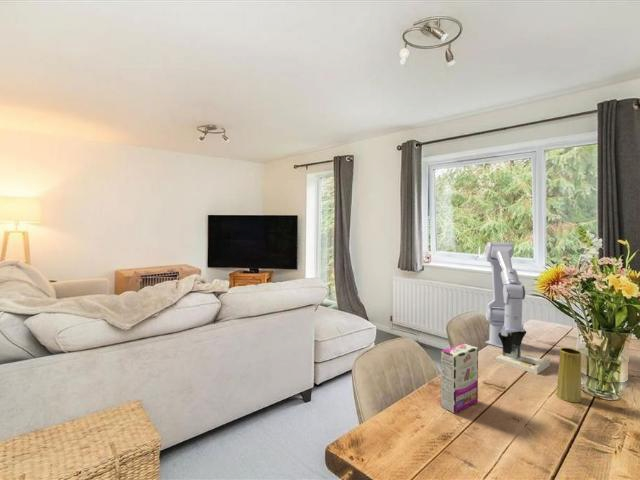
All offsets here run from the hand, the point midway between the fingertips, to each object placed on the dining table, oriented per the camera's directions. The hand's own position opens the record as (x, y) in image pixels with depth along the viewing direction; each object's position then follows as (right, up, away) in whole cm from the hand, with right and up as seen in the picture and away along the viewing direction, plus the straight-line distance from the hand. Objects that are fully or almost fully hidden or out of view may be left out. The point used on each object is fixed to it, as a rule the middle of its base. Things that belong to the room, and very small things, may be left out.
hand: (511, 350), depth 130 cm
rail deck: (+2, -4, -3) cm, 5 cm away
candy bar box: (-33, -5, -32) cm, 46 cm away
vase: (+1, -5, -28) cm, 28 cm away
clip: (0, -2, 0) cm, 2 cm away
